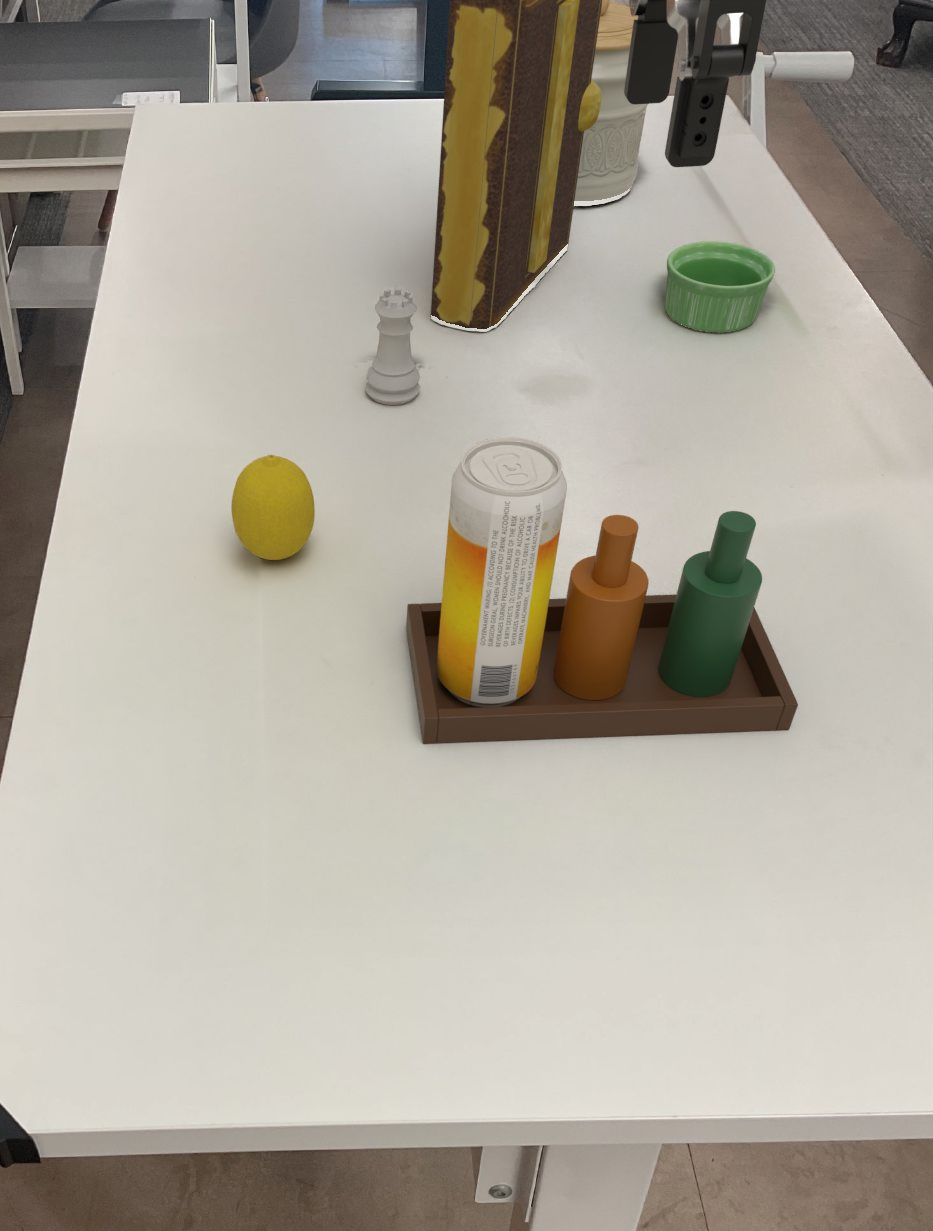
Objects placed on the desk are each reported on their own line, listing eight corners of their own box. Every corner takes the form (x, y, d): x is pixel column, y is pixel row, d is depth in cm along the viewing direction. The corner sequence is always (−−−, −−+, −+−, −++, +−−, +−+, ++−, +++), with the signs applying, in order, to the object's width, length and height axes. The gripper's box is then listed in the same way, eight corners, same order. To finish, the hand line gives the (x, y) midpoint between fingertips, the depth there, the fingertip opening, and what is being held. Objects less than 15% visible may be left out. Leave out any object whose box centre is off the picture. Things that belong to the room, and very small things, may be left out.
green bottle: (720, 648, 78) (765, 497, 70) (739, 695, 75) (789, 543, 67) (650, 651, 78) (688, 499, 70) (667, 698, 75) (708, 545, 67)
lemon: (318, 581, 84) (317, 477, 79) (236, 586, 84) (229, 482, 78) (312, 534, 88) (310, 431, 82) (233, 538, 88) (226, 435, 82)
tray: (737, 624, 81) (748, 591, 79) (786, 737, 74) (798, 704, 72) (405, 636, 81) (407, 603, 79) (422, 751, 73) (424, 718, 72)
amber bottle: (617, 652, 78) (651, 500, 70) (632, 699, 75) (669, 547, 67) (547, 655, 78) (572, 503, 70) (560, 702, 75) (588, 550, 67)
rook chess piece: (379, 412, 99) (382, 313, 93) (355, 386, 102) (357, 289, 96) (429, 399, 100) (435, 301, 94) (404, 374, 103) (409, 278, 97)
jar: (481, 184, 129) (498, -16, 116) (562, 150, 135) (587, -43, 122) (579, 221, 123) (609, 15, 110) (660, 185, 129) (697, -16, 116)
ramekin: (639, 299, 112) (648, 249, 109) (728, 284, 114) (740, 234, 110) (689, 344, 106) (701, 293, 103) (782, 328, 108) (796, 277, 105)
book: (500, 339, 107) (537, 0, 88) (410, 318, 110) (427, -15, 91) (589, 241, 120) (636, -73, 101) (506, 224, 123) (538, -84, 104)
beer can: (519, 643, 79) (550, 427, 68) (547, 707, 75) (585, 489, 64) (425, 654, 78) (441, 439, 67) (449, 719, 74) (469, 502, 63)
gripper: (893, -280, 46) (783, 183, 58) (773, -329, 55) (701, 78, 68) (690, -269, 46) (623, 193, 58) (605, -320, 55) (563, 86, 67)
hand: (665, 131), depth 63 cm, fingers open, 8 cm apart
